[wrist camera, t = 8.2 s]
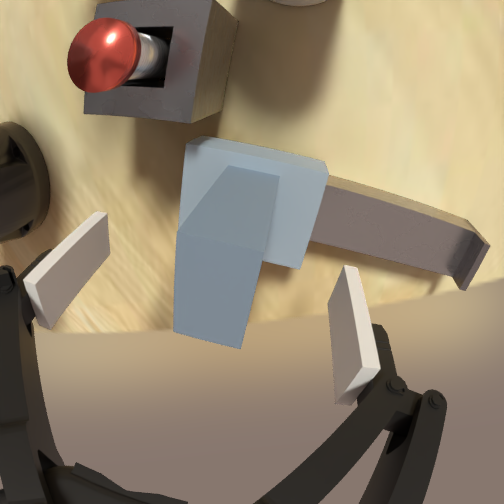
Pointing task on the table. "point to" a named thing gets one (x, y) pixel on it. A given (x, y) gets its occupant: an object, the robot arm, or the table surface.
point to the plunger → (114, 55)
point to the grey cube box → (173, 60)
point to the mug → (298, 2)
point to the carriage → (238, 230)
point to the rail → (398, 230)
